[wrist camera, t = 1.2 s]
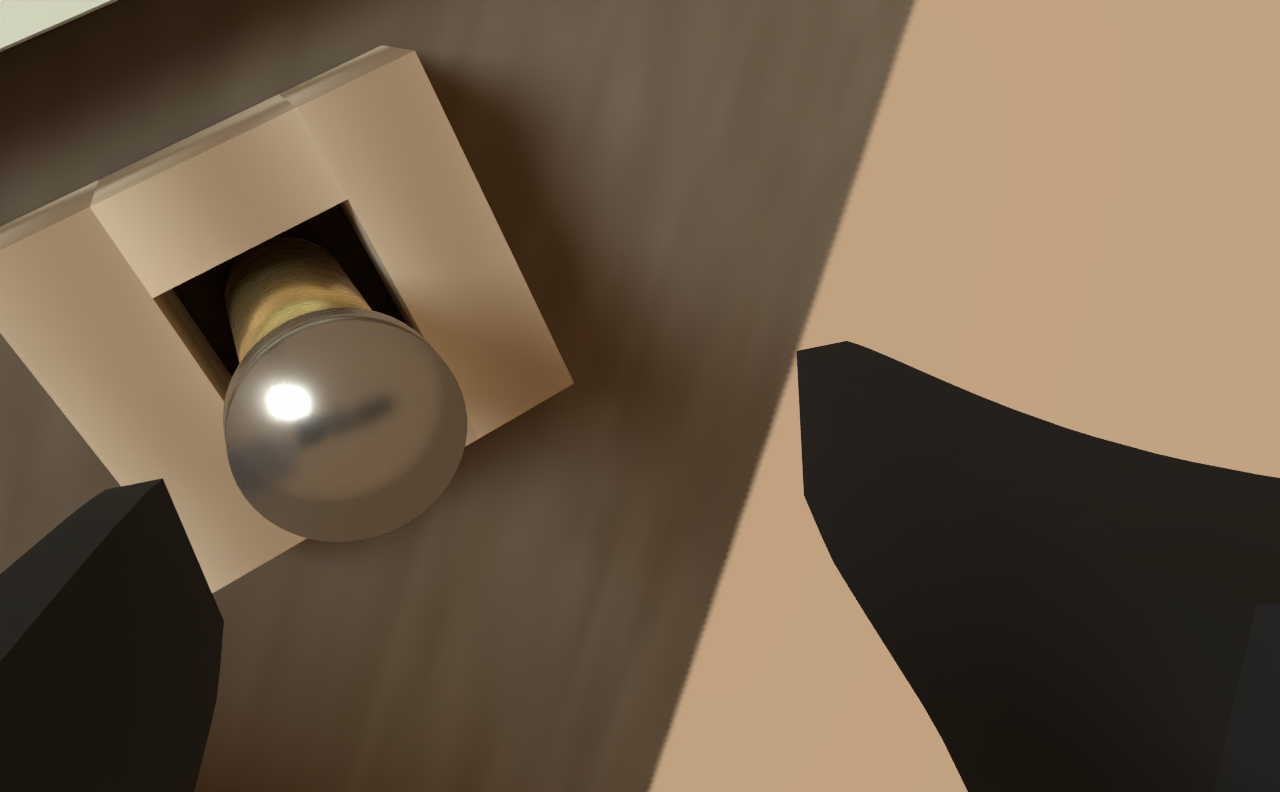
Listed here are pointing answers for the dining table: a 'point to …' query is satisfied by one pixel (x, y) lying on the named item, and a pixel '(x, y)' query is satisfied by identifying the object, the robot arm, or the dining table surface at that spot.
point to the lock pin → (332, 400)
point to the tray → (39, 17)
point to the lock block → (235, 222)
